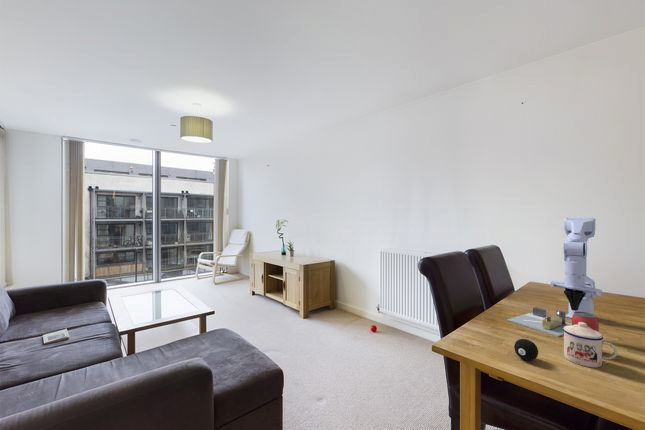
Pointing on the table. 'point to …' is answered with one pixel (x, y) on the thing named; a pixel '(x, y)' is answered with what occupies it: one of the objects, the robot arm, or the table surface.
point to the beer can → (586, 320)
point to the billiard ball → (526, 349)
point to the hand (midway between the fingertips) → (574, 310)
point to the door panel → (537, 324)
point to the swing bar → (552, 322)
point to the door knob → (561, 314)
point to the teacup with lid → (585, 345)
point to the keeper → (539, 312)
